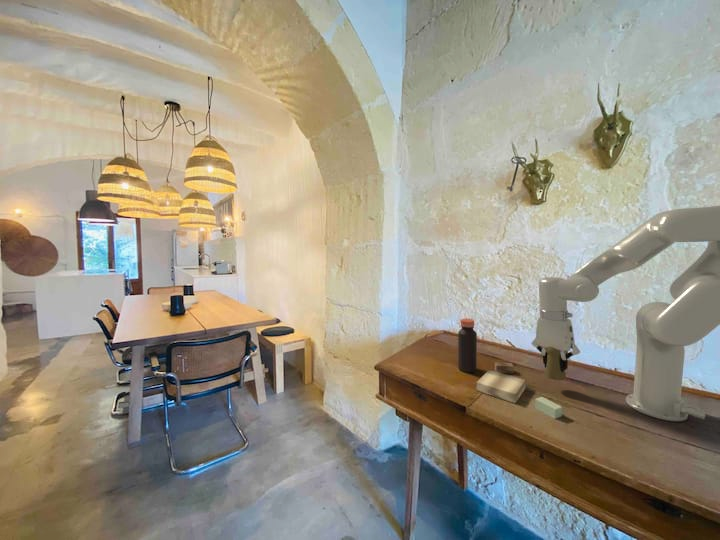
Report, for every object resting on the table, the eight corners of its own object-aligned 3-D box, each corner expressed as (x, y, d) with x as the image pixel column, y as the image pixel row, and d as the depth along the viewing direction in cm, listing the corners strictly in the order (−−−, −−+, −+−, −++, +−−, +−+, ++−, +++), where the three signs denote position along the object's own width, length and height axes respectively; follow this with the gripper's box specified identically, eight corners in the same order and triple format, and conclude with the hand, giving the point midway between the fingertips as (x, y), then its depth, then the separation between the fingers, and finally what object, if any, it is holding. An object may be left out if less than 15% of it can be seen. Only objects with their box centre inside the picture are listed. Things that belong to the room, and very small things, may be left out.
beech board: (525, 388, 98) (525, 379, 97) (515, 403, 89) (515, 394, 89) (489, 377, 106) (489, 369, 106) (476, 390, 97) (476, 382, 97)
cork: (566, 381, 92) (565, 348, 91) (543, 377, 95) (542, 345, 95) (566, 374, 96) (565, 342, 96) (545, 370, 100) (544, 340, 99)
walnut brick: (511, 370, 111) (511, 363, 111) (513, 374, 108) (513, 366, 108) (494, 369, 113) (494, 362, 112) (496, 373, 110) (496, 365, 109)
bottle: (473, 365, 116) (473, 317, 114) (478, 373, 109) (479, 322, 107) (456, 365, 117) (456, 317, 115) (460, 373, 110) (460, 322, 108)
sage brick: (561, 416, 82) (562, 406, 82) (554, 419, 81) (555, 409, 81) (541, 405, 88) (541, 396, 87) (534, 408, 86) (535, 398, 86)
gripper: (588, 315, 90) (589, 372, 91) (531, 309, 103) (533, 358, 105) (580, 321, 85) (581, 380, 87) (521, 313, 99) (523, 365, 100)
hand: (555, 367), depth 96 cm, fingers closed on cork, 4 cm apart
